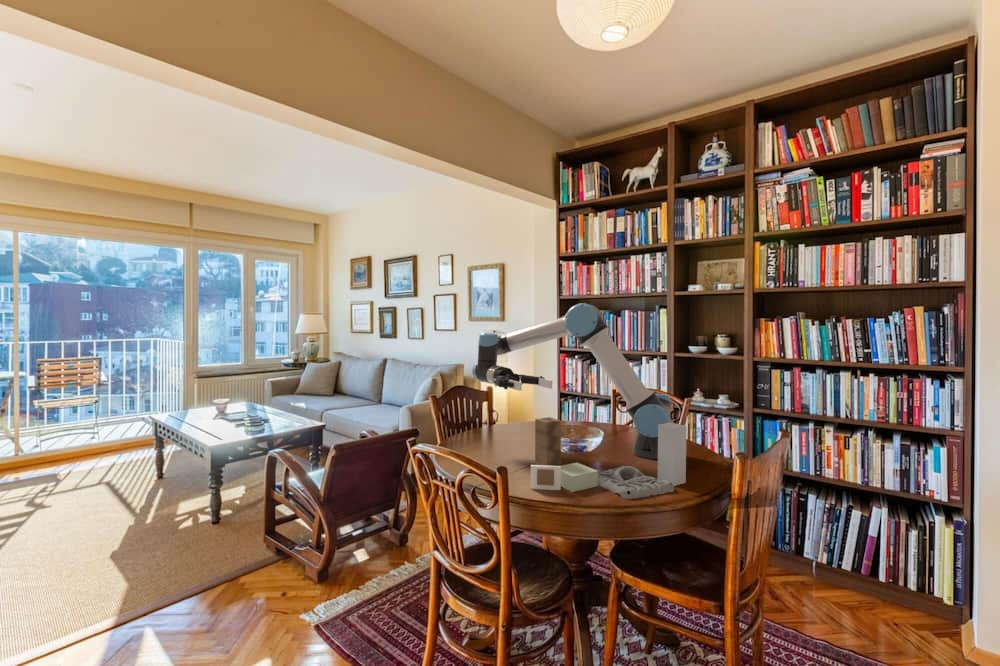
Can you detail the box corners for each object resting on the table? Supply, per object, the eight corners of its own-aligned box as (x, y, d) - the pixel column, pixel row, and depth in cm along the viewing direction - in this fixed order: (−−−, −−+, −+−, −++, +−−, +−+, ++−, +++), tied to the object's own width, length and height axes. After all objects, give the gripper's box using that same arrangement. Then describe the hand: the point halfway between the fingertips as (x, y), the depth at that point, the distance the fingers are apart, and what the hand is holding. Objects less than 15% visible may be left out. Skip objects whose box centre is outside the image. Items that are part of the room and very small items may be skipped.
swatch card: (530, 487, 148) (530, 464, 148) (560, 488, 147) (560, 466, 147) (530, 489, 147) (530, 466, 146) (560, 490, 146) (560, 467, 145)
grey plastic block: (669, 477, 158) (670, 422, 157) (685, 482, 153) (686, 425, 152) (657, 480, 154) (658, 424, 154) (673, 486, 149) (674, 428, 149)
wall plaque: (678, 492, 145) (678, 479, 145) (625, 502, 138) (626, 488, 138) (628, 469, 167) (628, 458, 167) (581, 476, 160) (581, 465, 160)
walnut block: (549, 469, 166) (549, 417, 165) (560, 474, 161) (560, 420, 160) (535, 472, 162) (535, 419, 162) (546, 477, 157) (546, 422, 157)
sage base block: (576, 477, 158) (576, 462, 158) (597, 487, 150) (597, 471, 149) (552, 482, 153) (552, 467, 153) (572, 492, 145) (572, 476, 144)
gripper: (525, 384, 191) (562, 394, 174) (472, 387, 177) (506, 398, 160) (527, 365, 191) (563, 373, 174) (473, 367, 177) (507, 376, 159)
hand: (536, 385), depth 167 cm, fingers open, 13 cm apart
